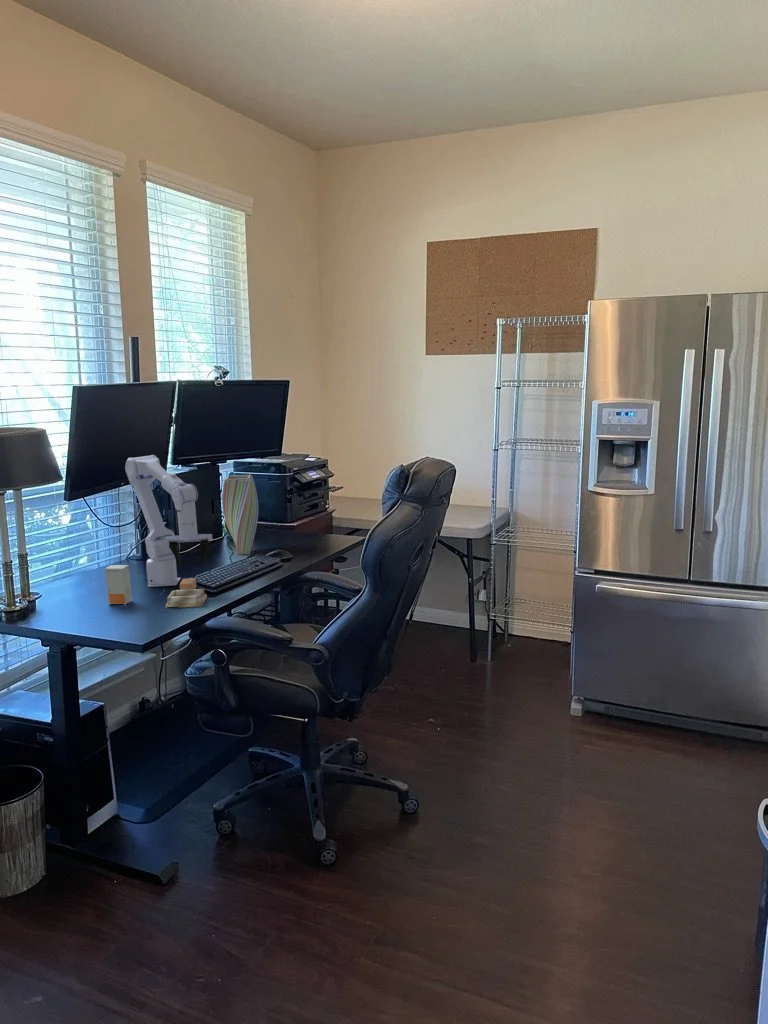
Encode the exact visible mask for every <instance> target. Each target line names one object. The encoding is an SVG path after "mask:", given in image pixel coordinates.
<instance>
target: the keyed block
mask: <svg viewBox="0 0 768 1024" xmlns="http://www.w3.org/2000/svg"><path fill="white" fill-rule="evenodd" d="M196 588H197V579H196V577H190V578H189V577H188V578H182V579H181V580H180V583H179V590H189V589H196Z"/></svg>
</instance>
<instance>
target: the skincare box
mask: <svg viewBox="0 0 768 1024" xmlns="http://www.w3.org/2000/svg"><path fill="white" fill-rule="evenodd" d="M129 566H130V565H128V564H110V565H109V566H107V567H105V568H104V573H105V583H106V592H107V601H108V602H107V604H108V605H109V604H127V603H129V602H130V601H132V602H133V596H132V586H131V575H130V567H129ZM130 603H131V602H130ZM130 603H129V604H130Z"/></svg>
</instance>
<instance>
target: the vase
mask: <svg viewBox="0 0 768 1024" xmlns="http://www.w3.org/2000/svg"><path fill="white" fill-rule="evenodd" d="M221 494H222V496H221V497H222V498H221V506H222V514H223V517H224V521H225V524H226V526H227V529H228V532H229V533H230V536H231V538H232V540H233V543H234V545H235V547H236V553H237V554H236V555H250V554H251V550H252V547H253V542H254V539H255V535H256V532H257V525H258V520H259V500H258V493H257V488H256V483H255V481H254V477H253V475H252V474H241V475H239V474H238V475H227V476H226V477H225V478H224V480H223V486H222V493H221Z"/></svg>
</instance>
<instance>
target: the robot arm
mask: <svg viewBox="0 0 768 1024" xmlns="http://www.w3.org/2000/svg"><path fill="white" fill-rule="evenodd" d="M124 469H125V473H126V476H127V479H128V482H129V484H130V485H132V486H133V488H134V491H135V494H136V497H137V500H138V503H139V506H140V508H141V510H142V513H143V516H144V519H145V521H146V525H147V528H148V530H149V533H148V535H147V536H146V537H145V540H144V542H145V547H146V549H145V550H146V554H147V555H148V557H149V558H148V559H147V560H146V579H147V587H148V588H150V587H151V588H153V587H169V586H171V587H173V586H177V585H178V583H179V582H180V581H181V580H182V579H181V577H178V570H177V566H180V565H181V564H182V559H181V554H180V553H181V551H180V549H181V545H180V543H191V542H192V543H193V542H199V549H200V557H201V558H200V560H201V561H200V562H201V564H205V563H206V553H207V549H208V547H209V544H210V542H212V541H213V534H212V533H198V523H197V522H198V521H197V509H196V502H197V501H198V497H199V492H198V489H197V487H196V486H195V485H194V484H193V483H186V482H185V481H183V480H182V479H181V478H180V477H178V476H177V474H175V473H168V472H167V470H166V469H165V468H163V466H161V463H160V458H158V457H157V456H156V455H154V454H151V455H144V456H137V457H128V458H127V460H126V461H125V467H124ZM155 480H158V481H159V482H161V483H160V484H161V487H162V489H163V490H165V491H166V492H167V493H168V494H170V496H171V500H172V501H173V504H174V508H175V510H176V513H177V525H178V534H179V535H175V533H174V530H171V529H169V528H167V527H166V526H165V523H164V521H163V518H162V514H161V512H160V508H159V506H158V503H157V501H156V498H155V496H154V492H153V490H152V486H151V483H153V482H154V481H155Z"/></svg>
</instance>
